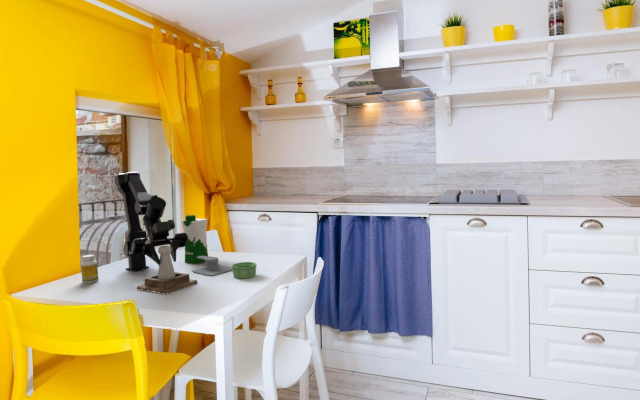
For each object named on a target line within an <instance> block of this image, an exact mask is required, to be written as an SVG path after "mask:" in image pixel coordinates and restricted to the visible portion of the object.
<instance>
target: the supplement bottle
mask: <svg viewBox="0 0 640 400" xmlns="http://www.w3.org/2000/svg"><path fill="white" fill-rule="evenodd" d="M95 257H96V256H95V254H86V255H82V262H81V263H80V269H81V271H80V272H81V280H82V281H81V282H82V283H83V284H93V283H97V282H98V281H99V272H98V271H99V269H98V268H99V267H98V262H97V260H95Z"/></svg>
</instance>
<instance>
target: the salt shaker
mask: <svg viewBox="0 0 640 400" xmlns="http://www.w3.org/2000/svg"><path fill="white" fill-rule="evenodd" d="M157 251H158V254H160V255H159V260H160V265H158V270H157V274H158V279H160V280H169V279H172V278H175V272H176V271H175V269H174V265H173V262H172V261H173V260H172V256H171V254H170V253H171V251H172V249H171V247H170V245H162V246H158V247H157Z"/></svg>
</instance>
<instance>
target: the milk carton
mask: <svg viewBox="0 0 640 400" xmlns="http://www.w3.org/2000/svg"><path fill="white" fill-rule="evenodd" d="M180 222H181V226H182V229H183V232H185V233H187V235H188V237H189V238H188V240H187V243H186V245H185V246H184V263H187V264H192V265H198V264H202V263H205V260H203V259H199V258H196V257H198V256H209V253H208V242H207V224H208V218H196V214H189V215H185V219H182V220H181V221H180Z"/></svg>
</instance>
